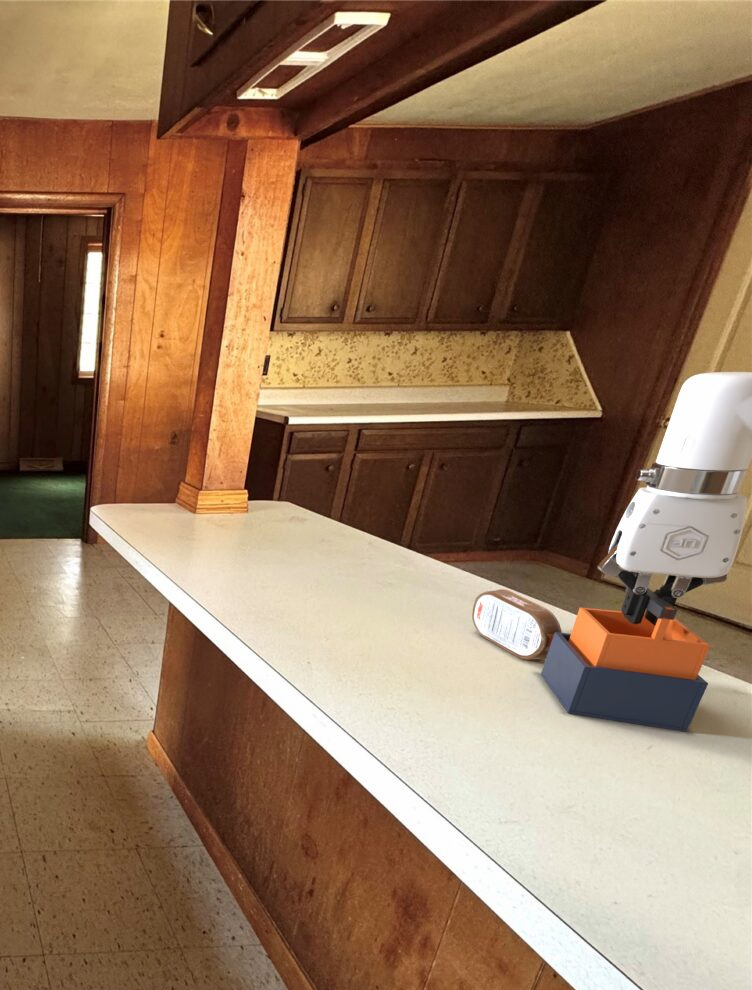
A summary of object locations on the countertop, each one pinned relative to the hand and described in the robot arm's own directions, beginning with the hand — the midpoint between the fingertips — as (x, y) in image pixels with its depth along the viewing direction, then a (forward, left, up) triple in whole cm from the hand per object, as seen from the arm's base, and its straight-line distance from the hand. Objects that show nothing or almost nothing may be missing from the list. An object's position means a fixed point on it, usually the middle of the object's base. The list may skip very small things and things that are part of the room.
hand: (642, 620), depth 86 cm
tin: (+8, -15, -12) cm, 21 cm away
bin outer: (0, 0, -12) cm, 12 cm away
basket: (0, 0, -11) cm, 11 cm away
